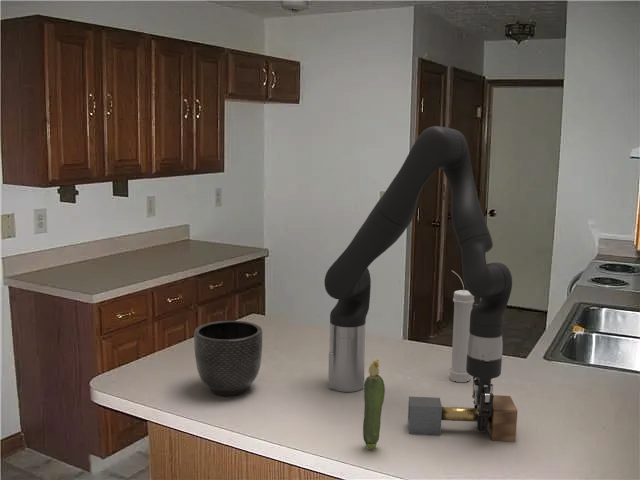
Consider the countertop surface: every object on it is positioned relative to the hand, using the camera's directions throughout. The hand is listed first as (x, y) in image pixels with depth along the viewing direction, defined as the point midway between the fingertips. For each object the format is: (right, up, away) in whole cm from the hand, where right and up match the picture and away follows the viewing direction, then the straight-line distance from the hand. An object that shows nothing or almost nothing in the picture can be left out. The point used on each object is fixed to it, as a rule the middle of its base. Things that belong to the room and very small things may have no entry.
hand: (480, 425), depth 152 cm
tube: (-4, 0, 0) cm, 4 cm away
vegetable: (-25, -3, -8) cm, 26 cm away
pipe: (+2, +4, +32) cm, 32 cm away
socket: (+4, -2, 0) cm, 5 cm away
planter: (-59, +3, +23) cm, 64 cm away
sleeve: (-12, -1, +1) cm, 13 cm away
